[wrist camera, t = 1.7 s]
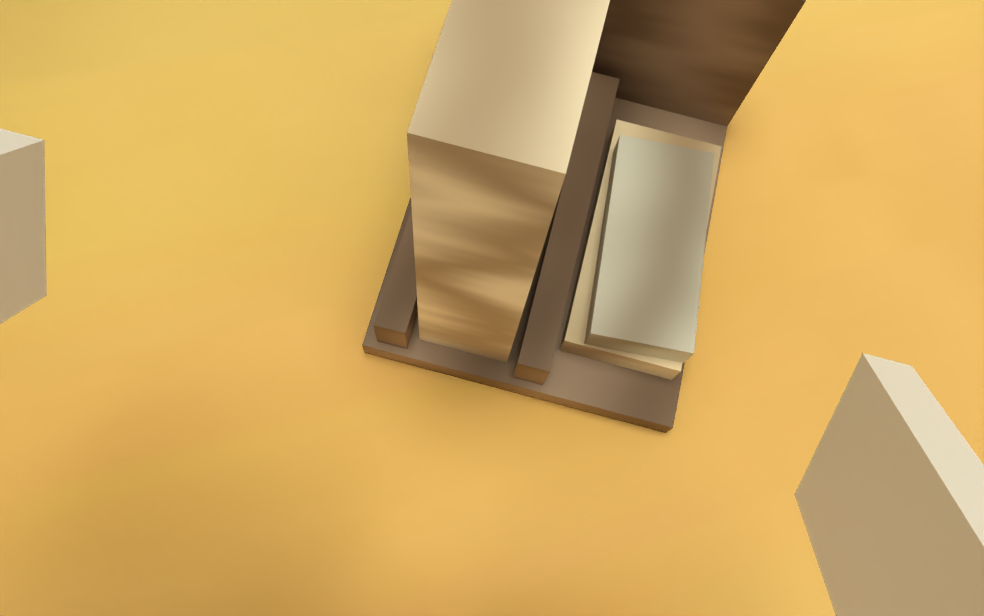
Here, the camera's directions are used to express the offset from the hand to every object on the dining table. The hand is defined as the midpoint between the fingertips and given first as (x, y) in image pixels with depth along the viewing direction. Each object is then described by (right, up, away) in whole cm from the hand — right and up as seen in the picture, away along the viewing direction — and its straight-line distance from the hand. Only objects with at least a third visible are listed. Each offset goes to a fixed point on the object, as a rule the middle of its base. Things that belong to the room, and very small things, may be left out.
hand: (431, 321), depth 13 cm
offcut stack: (+7, +3, +20) cm, 22 cm away
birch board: (+1, +4, +21) cm, 21 cm away
